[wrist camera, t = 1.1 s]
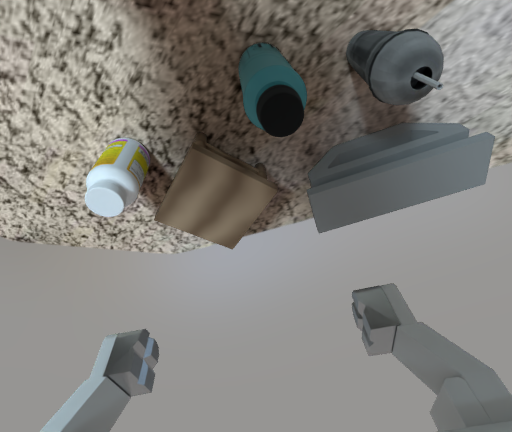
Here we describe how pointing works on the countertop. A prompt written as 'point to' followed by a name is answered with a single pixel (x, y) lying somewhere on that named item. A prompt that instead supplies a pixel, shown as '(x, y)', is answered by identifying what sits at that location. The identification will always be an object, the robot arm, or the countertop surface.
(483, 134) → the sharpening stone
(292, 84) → the beverage bottle
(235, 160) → the walnut stool
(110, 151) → the supplement bottle
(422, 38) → the beverage cup
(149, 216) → the countertop surface
